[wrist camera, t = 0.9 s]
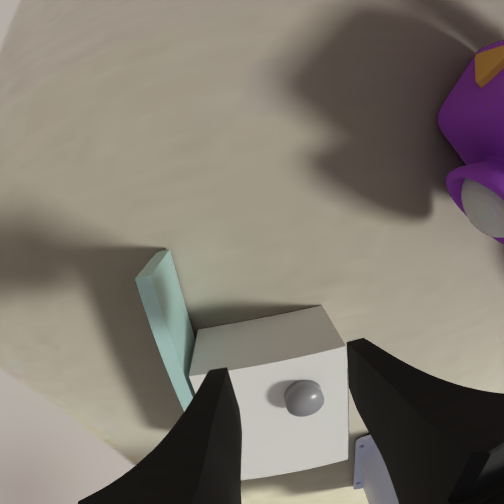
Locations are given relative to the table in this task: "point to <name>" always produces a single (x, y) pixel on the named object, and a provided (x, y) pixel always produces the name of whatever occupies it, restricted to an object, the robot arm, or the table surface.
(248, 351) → the block
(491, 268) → the table surface
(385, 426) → the robot arm
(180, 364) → the side door
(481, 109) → the toy camera
